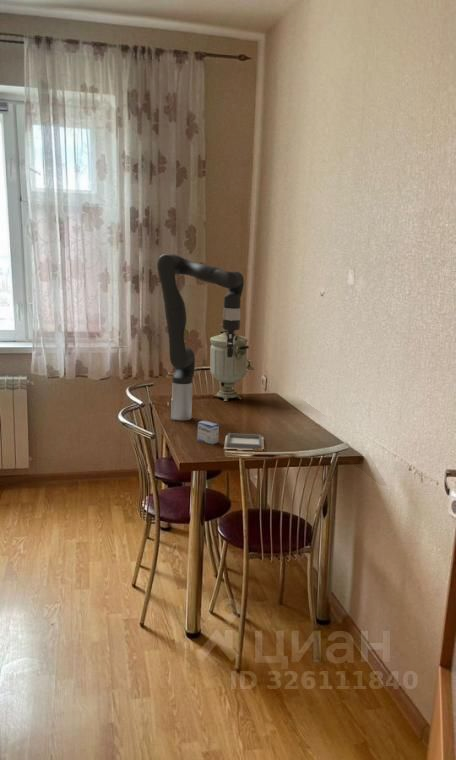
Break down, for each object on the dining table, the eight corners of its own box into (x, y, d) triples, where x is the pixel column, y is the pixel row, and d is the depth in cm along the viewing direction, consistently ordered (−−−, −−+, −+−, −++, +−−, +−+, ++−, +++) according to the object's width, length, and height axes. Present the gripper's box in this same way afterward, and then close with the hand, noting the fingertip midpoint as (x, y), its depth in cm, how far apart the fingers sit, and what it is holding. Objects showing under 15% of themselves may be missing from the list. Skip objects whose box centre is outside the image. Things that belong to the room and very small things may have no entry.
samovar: (264, 404, 317) (268, 328, 308) (216, 406, 310) (218, 328, 301) (246, 391, 345) (249, 320, 336) (201, 392, 337) (203, 320, 329)
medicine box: (196, 442, 252) (197, 422, 250) (203, 439, 256) (204, 419, 254) (211, 446, 248) (212, 425, 246) (218, 443, 251) (219, 423, 249)
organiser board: (223, 451, 242) (223, 444, 242) (225, 438, 259) (226, 431, 258) (263, 453, 242) (264, 446, 241) (263, 439, 258) (263, 433, 258)
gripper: (223, 316, 270) (222, 352, 274) (222, 320, 256) (220, 357, 260) (240, 317, 270) (239, 353, 273) (239, 320, 256) (238, 358, 259)
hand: (230, 355), depth 266 cm, fingers open, 8 cm apart
